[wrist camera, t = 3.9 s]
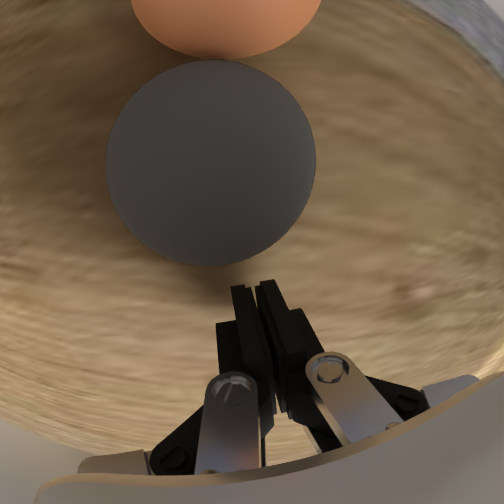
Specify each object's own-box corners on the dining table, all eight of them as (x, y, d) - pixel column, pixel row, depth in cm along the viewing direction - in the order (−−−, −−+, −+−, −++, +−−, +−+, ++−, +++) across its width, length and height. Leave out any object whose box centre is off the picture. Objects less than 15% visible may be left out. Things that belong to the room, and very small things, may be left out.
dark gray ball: (357, 271, 7) (294, 179, 11) (336, 28, 3) (263, 45, 7) (152, 332, 7) (165, 220, 11) (25, 143, 3) (110, 97, 7)
